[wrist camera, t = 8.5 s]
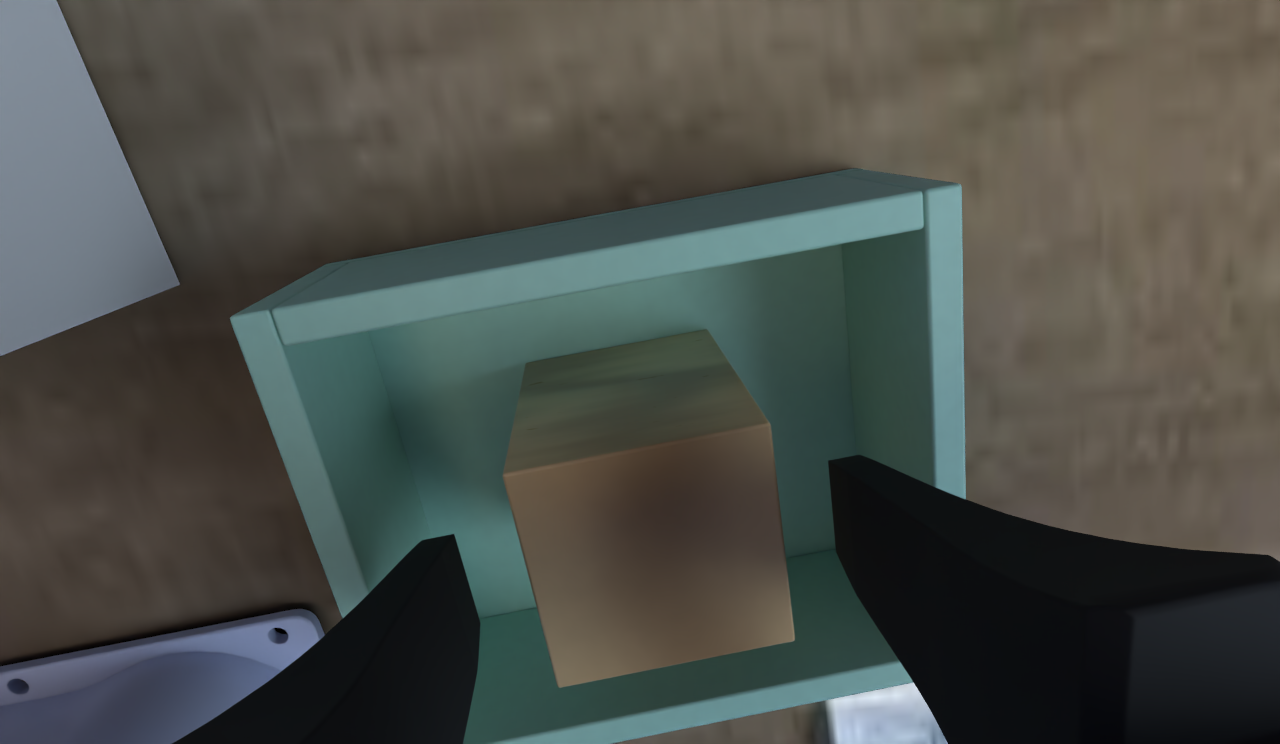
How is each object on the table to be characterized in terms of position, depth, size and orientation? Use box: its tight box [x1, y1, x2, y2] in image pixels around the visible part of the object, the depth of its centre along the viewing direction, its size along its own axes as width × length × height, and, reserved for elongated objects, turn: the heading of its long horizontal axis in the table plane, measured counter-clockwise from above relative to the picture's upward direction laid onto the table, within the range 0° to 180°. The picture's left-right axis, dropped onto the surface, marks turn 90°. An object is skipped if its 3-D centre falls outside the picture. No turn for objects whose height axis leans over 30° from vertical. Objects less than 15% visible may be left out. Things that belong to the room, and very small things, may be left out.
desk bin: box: [230, 168, 966, 744], centre depth 16 cm, size 13×11×5 cm
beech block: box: [502, 329, 795, 688], centre depth 15 cm, size 5×5×6 cm
